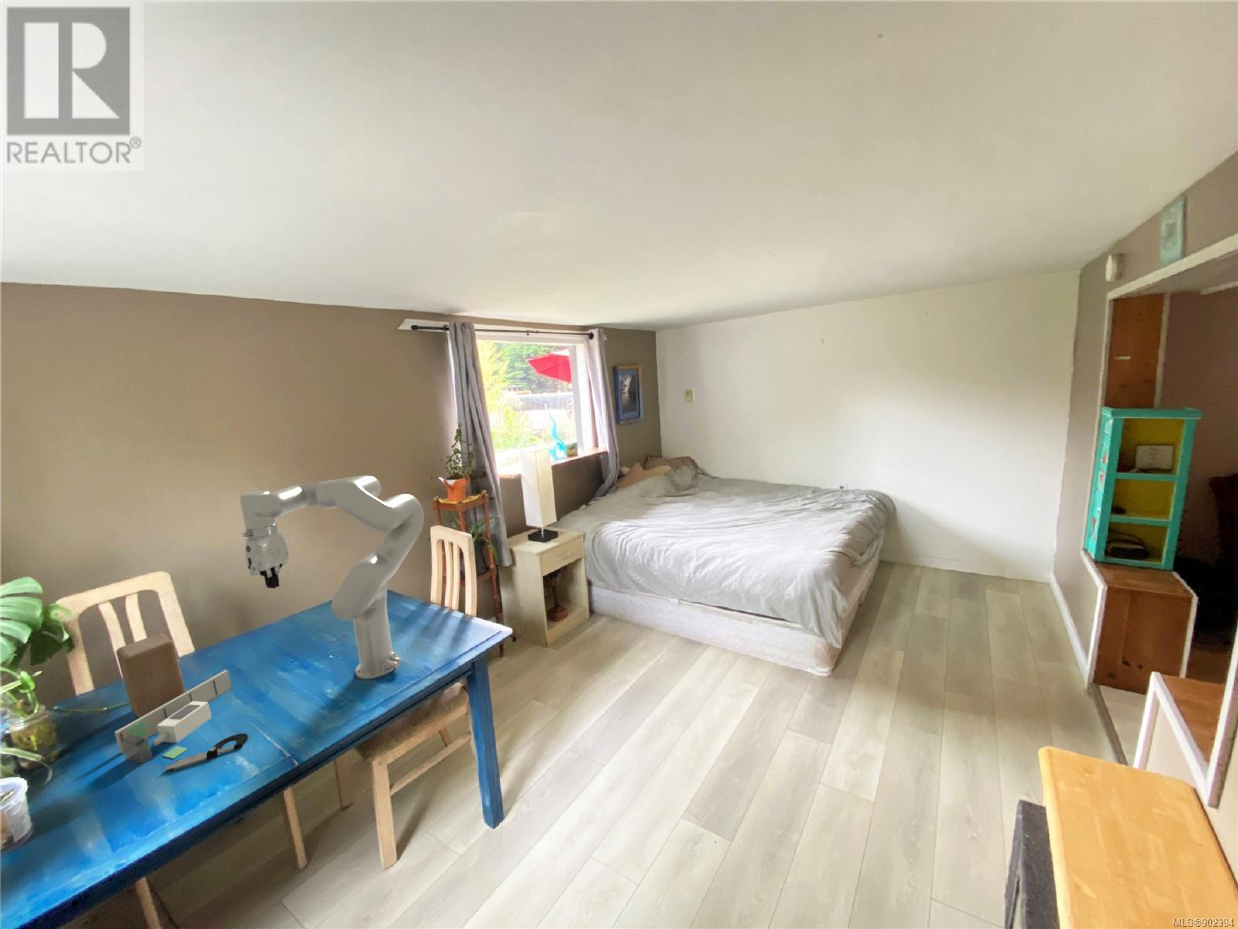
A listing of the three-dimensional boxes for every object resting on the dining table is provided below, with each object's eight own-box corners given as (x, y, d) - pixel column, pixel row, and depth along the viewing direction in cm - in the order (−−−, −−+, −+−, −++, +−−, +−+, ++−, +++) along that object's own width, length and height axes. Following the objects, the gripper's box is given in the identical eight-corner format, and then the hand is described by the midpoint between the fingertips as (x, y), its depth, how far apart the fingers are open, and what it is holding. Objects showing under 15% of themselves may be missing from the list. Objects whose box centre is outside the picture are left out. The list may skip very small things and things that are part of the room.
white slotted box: (211, 718, 126) (208, 701, 125) (164, 752, 115) (160, 734, 114) (196, 717, 127) (192, 700, 126) (147, 751, 115) (143, 733, 114)
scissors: (251, 731, 121) (249, 723, 121) (244, 750, 115) (242, 741, 114) (177, 754, 114) (175, 746, 114) (165, 775, 108) (163, 766, 108)
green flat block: (187, 749, 115) (187, 749, 115) (173, 759, 112) (173, 758, 112) (177, 746, 116) (176, 746, 116) (162, 756, 113) (162, 755, 113)
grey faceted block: (152, 757, 113) (147, 737, 112) (142, 764, 111) (136, 743, 110) (136, 753, 115) (131, 733, 114) (126, 759, 113) (120, 739, 112)
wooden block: (141, 723, 125) (123, 658, 122) (131, 710, 130) (114, 648, 127) (188, 701, 133) (173, 640, 130) (177, 690, 139) (163, 631, 135)
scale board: (232, 688, 139) (228, 670, 138) (123, 753, 115) (117, 733, 114) (229, 687, 139) (225, 670, 138) (120, 752, 115) (114, 732, 114)
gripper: (245, 540, 130) (257, 599, 133) (295, 524, 144) (304, 578, 147) (226, 538, 132) (239, 597, 135) (277, 523, 146) (287, 576, 149)
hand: (273, 586), depth 141 cm, fingers closed
